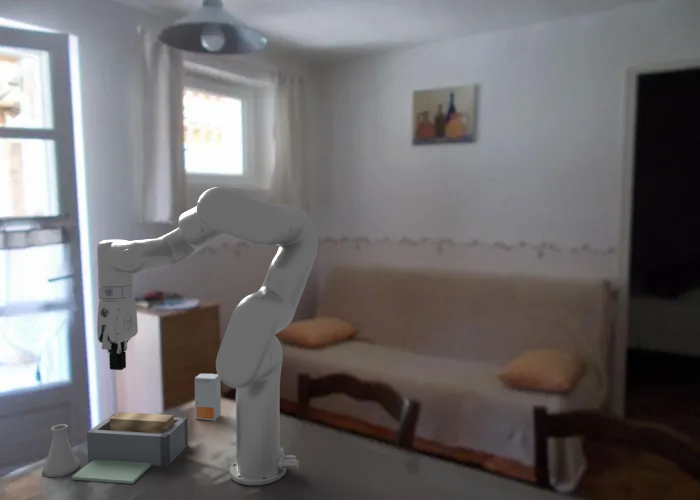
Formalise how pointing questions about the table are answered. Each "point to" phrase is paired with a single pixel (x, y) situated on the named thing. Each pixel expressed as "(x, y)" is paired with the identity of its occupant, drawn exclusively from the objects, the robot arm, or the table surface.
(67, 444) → the flask
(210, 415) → the skincare box
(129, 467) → the mat
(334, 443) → the table surface
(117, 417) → the oak bar
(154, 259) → the robot arm
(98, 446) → the cradle
